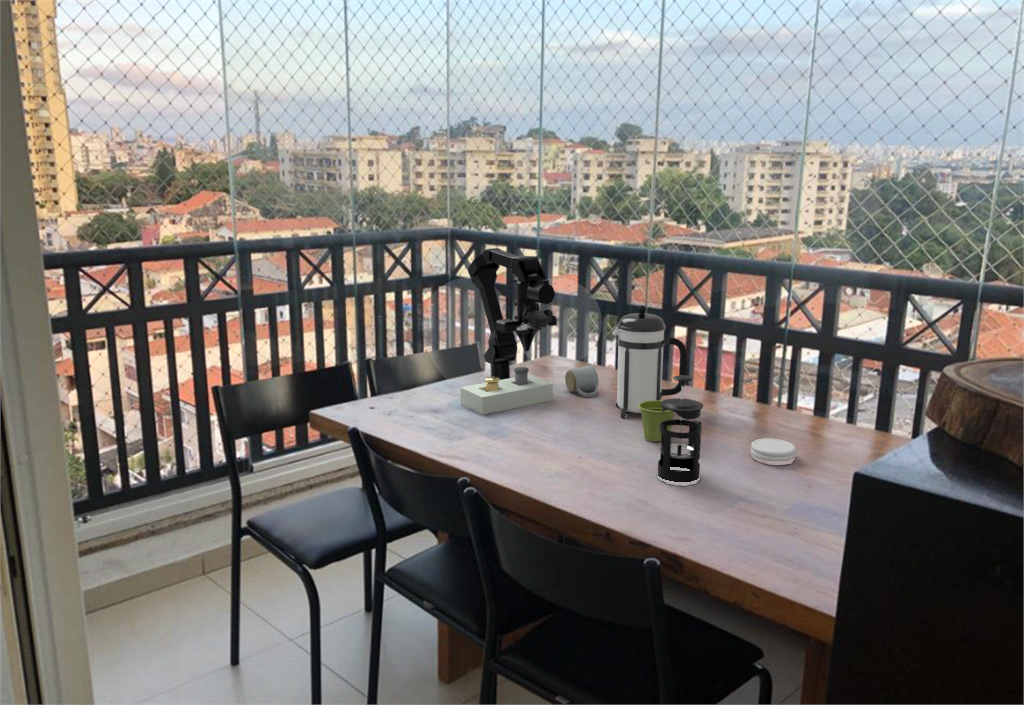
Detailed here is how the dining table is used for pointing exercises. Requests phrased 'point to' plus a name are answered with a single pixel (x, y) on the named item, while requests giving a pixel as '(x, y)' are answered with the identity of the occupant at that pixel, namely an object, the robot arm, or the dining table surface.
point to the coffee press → (643, 360)
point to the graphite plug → (521, 376)
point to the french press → (680, 452)
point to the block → (506, 395)
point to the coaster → (773, 449)
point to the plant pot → (654, 419)
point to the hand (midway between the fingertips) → (526, 350)
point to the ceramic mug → (582, 380)
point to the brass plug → (492, 383)
